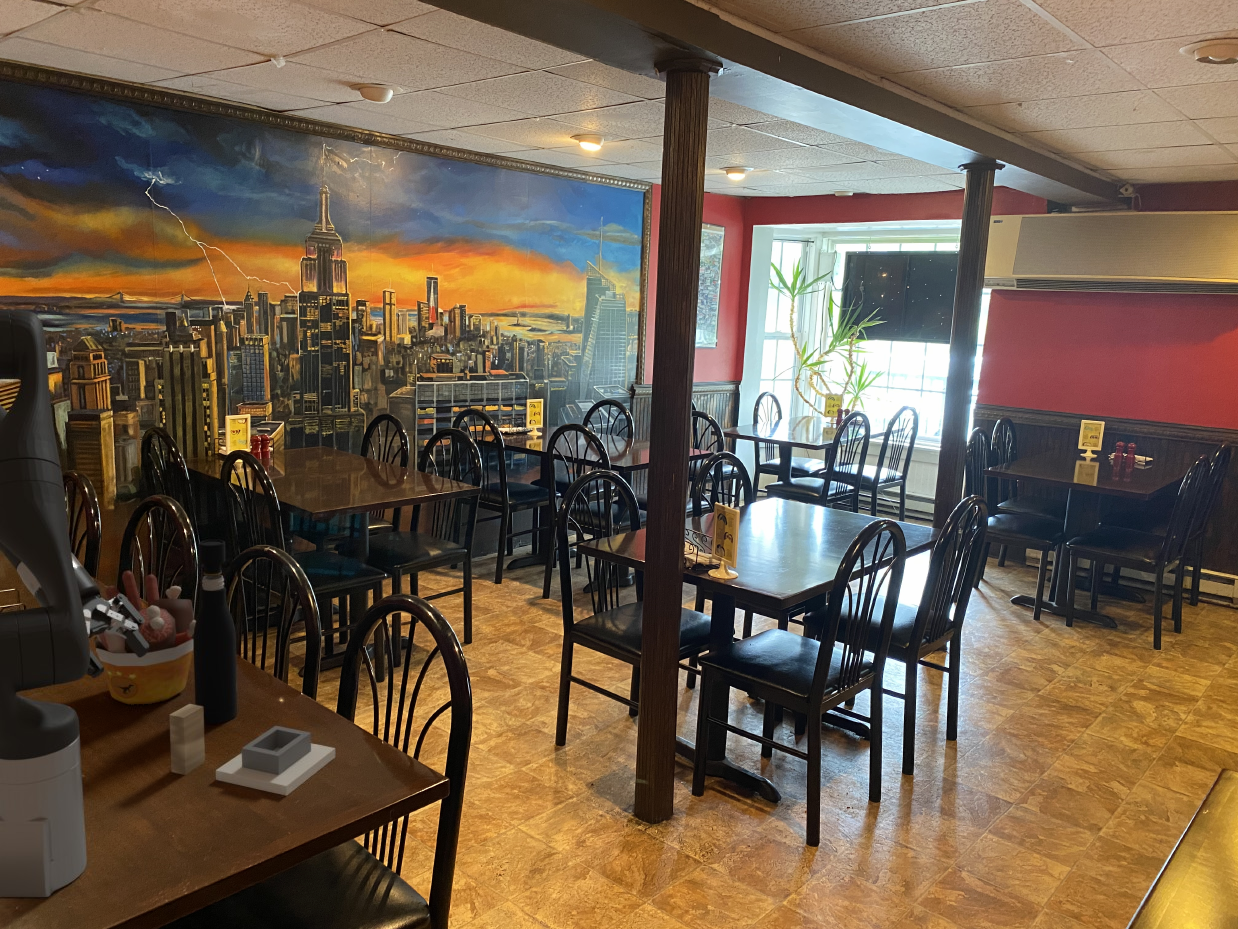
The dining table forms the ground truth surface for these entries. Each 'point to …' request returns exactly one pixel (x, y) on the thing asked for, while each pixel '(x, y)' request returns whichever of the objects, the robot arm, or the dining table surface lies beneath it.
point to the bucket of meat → (167, 642)
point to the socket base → (276, 761)
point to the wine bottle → (214, 641)
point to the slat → (187, 739)
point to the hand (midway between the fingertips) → (123, 664)
